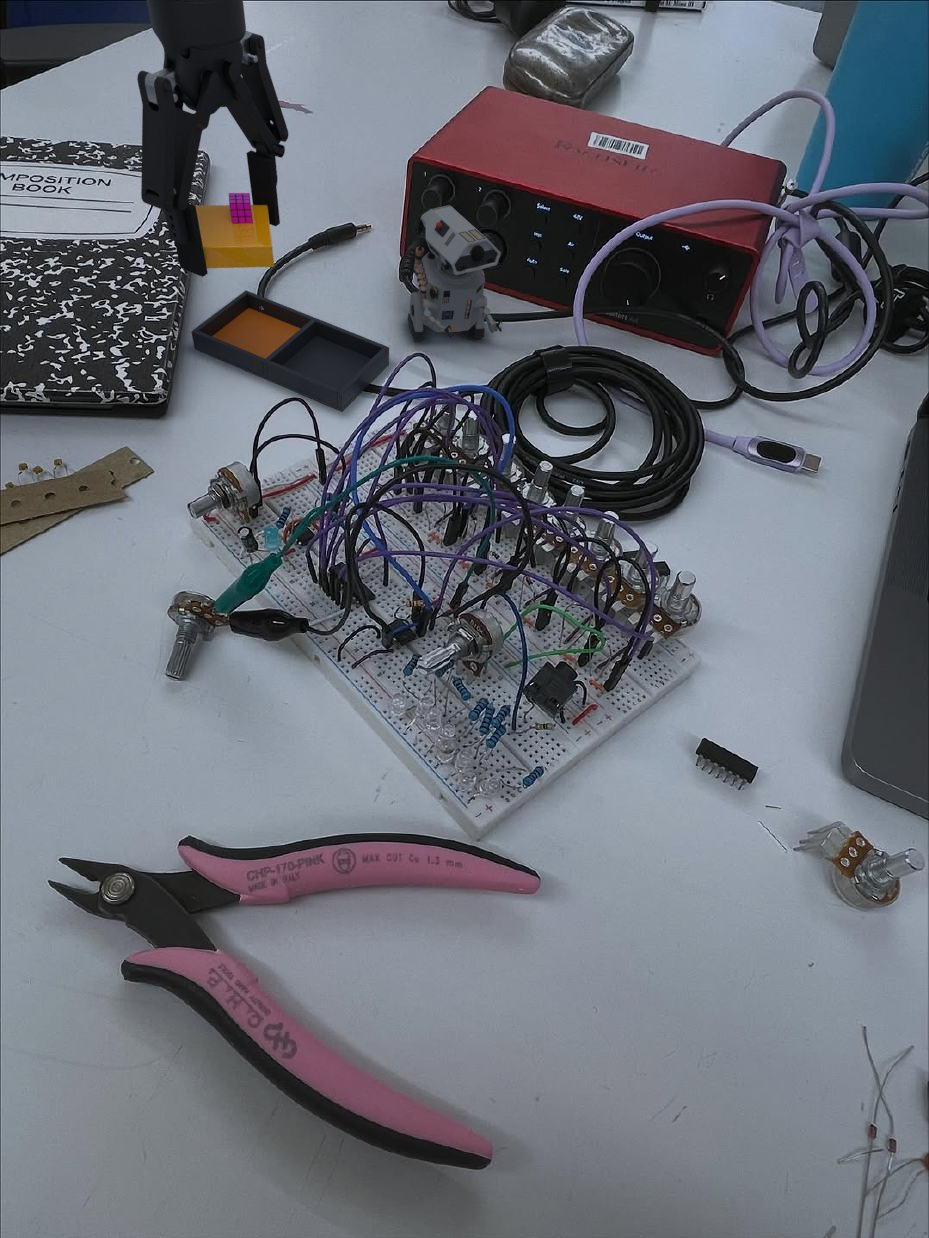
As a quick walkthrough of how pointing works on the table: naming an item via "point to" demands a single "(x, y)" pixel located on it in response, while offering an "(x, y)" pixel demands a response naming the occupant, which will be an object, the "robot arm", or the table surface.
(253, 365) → the divided tray
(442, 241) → the figurine
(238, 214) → the orange box
